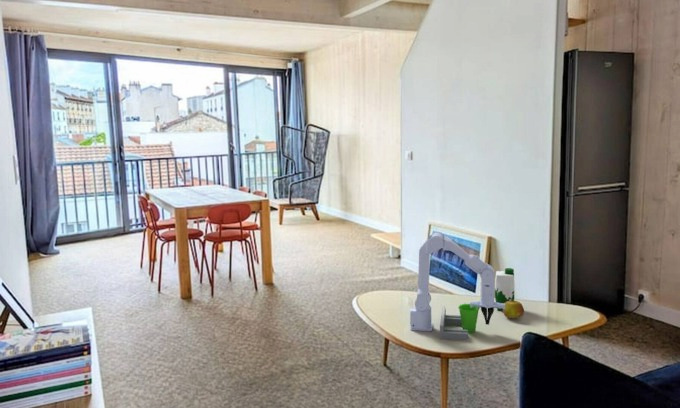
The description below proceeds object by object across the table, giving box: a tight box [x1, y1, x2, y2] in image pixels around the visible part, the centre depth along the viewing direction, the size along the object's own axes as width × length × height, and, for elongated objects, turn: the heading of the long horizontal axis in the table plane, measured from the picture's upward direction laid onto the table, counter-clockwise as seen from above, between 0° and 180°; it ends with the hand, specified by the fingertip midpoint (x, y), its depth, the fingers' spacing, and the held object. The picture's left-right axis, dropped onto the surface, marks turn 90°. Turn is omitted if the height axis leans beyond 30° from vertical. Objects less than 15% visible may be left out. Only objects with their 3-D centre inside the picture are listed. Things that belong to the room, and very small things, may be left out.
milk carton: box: [494, 267, 515, 312], centre depth 241 cm, size 9×9×20 cm
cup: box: [457, 303, 481, 334], centre depth 216 cm, size 9×9×11 cm
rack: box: [439, 306, 469, 342], centre depth 218 cm, size 12×21×7 cm, turn 166°
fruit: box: [502, 300, 525, 319], centre depth 230 cm, size 10×9×8 cm
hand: (487, 323), depth 215 cm, fingers closed
